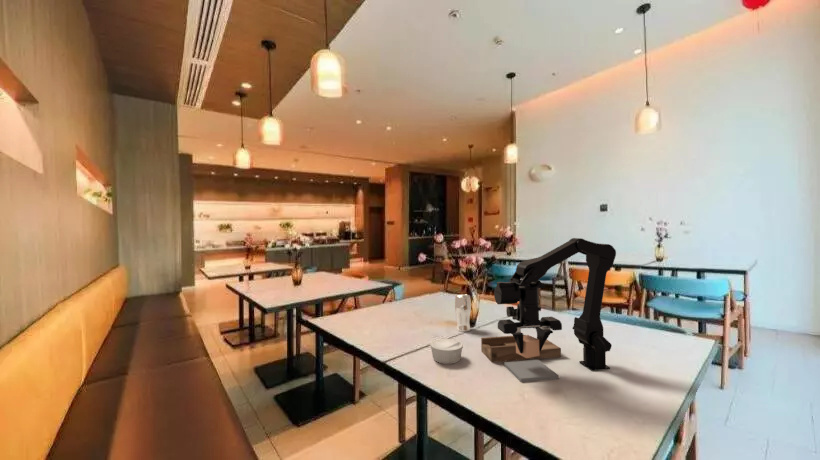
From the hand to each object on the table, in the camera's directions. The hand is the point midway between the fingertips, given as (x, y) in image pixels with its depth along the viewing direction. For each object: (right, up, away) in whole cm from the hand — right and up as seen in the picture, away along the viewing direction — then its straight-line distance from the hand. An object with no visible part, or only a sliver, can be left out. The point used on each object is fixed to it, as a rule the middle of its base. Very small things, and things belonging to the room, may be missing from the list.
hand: (529, 352), depth 106 cm
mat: (0, -6, 0) cm, 6 cm away
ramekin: (-25, -7, +12) cm, 28 cm away
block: (0, -1, +1) cm, 2 cm away
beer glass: (-14, -6, +44) cm, 46 cm away
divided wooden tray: (+2, -6, +14) cm, 16 cm away
